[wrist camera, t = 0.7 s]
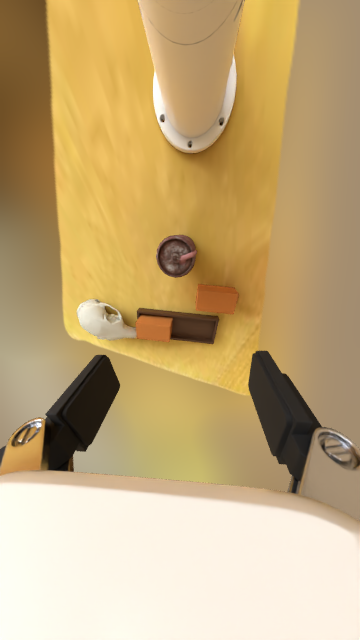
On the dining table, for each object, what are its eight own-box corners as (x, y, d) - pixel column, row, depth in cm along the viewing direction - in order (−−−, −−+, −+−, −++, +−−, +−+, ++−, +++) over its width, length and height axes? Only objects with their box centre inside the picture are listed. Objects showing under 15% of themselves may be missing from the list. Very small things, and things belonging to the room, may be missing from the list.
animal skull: (131, 344, 50) (110, 363, 41) (94, 309, 50) (64, 321, 41) (148, 325, 45) (127, 342, 36) (106, 286, 45) (75, 294, 36)
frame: (139, 307, 44) (136, 311, 42) (218, 316, 43) (218, 319, 41) (140, 332, 48) (138, 335, 46) (212, 340, 47) (213, 344, 45)
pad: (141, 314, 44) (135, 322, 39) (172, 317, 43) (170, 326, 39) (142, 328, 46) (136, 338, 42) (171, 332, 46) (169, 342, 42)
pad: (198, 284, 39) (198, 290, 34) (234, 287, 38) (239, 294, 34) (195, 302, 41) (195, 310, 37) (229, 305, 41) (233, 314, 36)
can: (200, 257, 36) (202, 269, 23) (175, 268, 37) (165, 284, 25) (190, 229, 33) (187, 226, 21) (164, 242, 35) (147, 246, 23)
